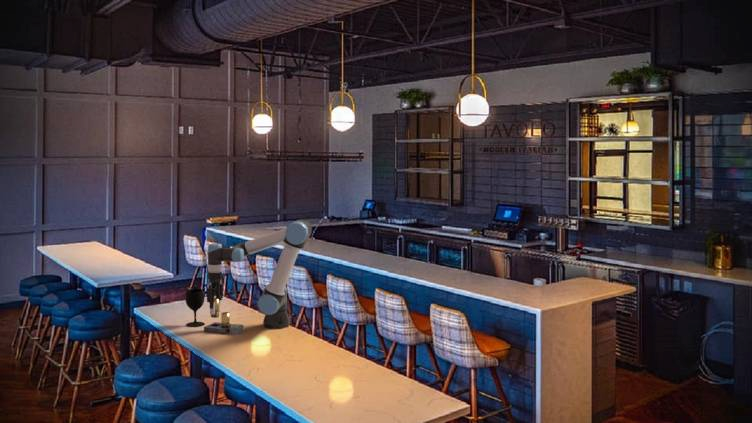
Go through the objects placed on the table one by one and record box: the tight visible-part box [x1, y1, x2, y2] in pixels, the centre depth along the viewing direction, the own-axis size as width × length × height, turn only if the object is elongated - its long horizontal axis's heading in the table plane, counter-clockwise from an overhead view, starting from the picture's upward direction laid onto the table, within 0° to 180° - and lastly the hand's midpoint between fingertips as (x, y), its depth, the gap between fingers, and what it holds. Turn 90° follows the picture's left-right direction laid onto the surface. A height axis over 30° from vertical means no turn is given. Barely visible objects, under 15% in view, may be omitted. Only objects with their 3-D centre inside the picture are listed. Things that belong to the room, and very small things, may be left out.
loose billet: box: [210, 297, 220, 319], centre depth 352 cm, size 4×4×10 cm
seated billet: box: [220, 311, 231, 328], centre depth 350 cm, size 4×4×10 cm
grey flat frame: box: [203, 321, 235, 335], centre depth 352 cm, size 11×14×2 cm
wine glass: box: [184, 288, 205, 328], centre depth 361 cm, size 10×10×20 cm
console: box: [229, 323, 245, 336], centre depth 347 cm, size 6×5×4 cm
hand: (215, 312), depth 352 cm, fingers closed on loose billet, 4 cm apart
